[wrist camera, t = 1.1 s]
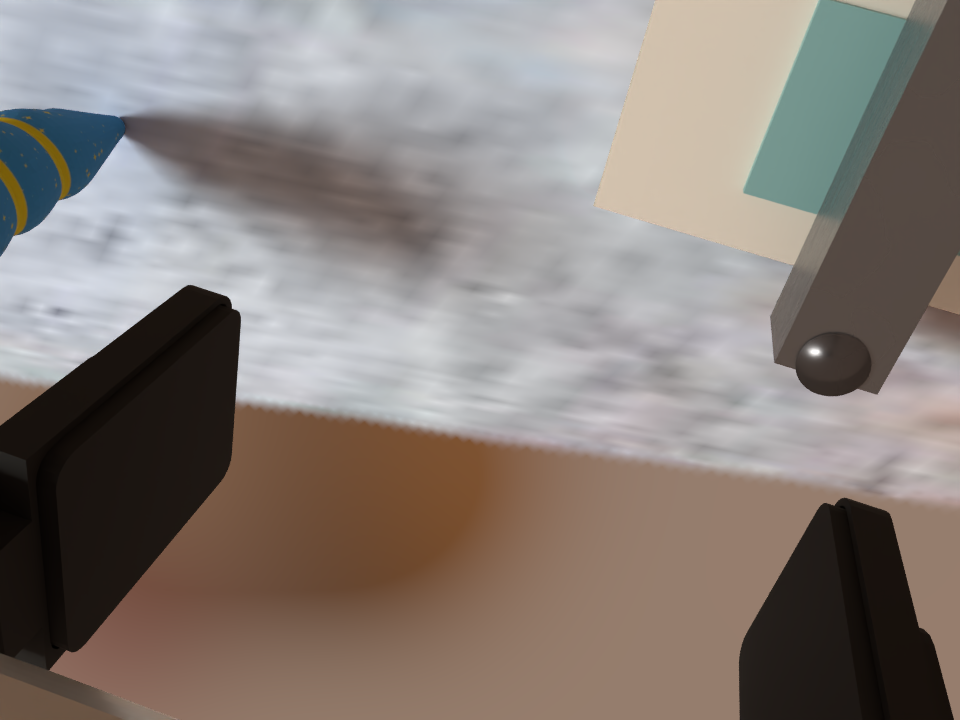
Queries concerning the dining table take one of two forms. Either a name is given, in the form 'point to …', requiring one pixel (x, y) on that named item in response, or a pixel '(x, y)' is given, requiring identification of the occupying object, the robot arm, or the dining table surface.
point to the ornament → (48, 161)
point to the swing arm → (881, 220)
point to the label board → (749, 118)
